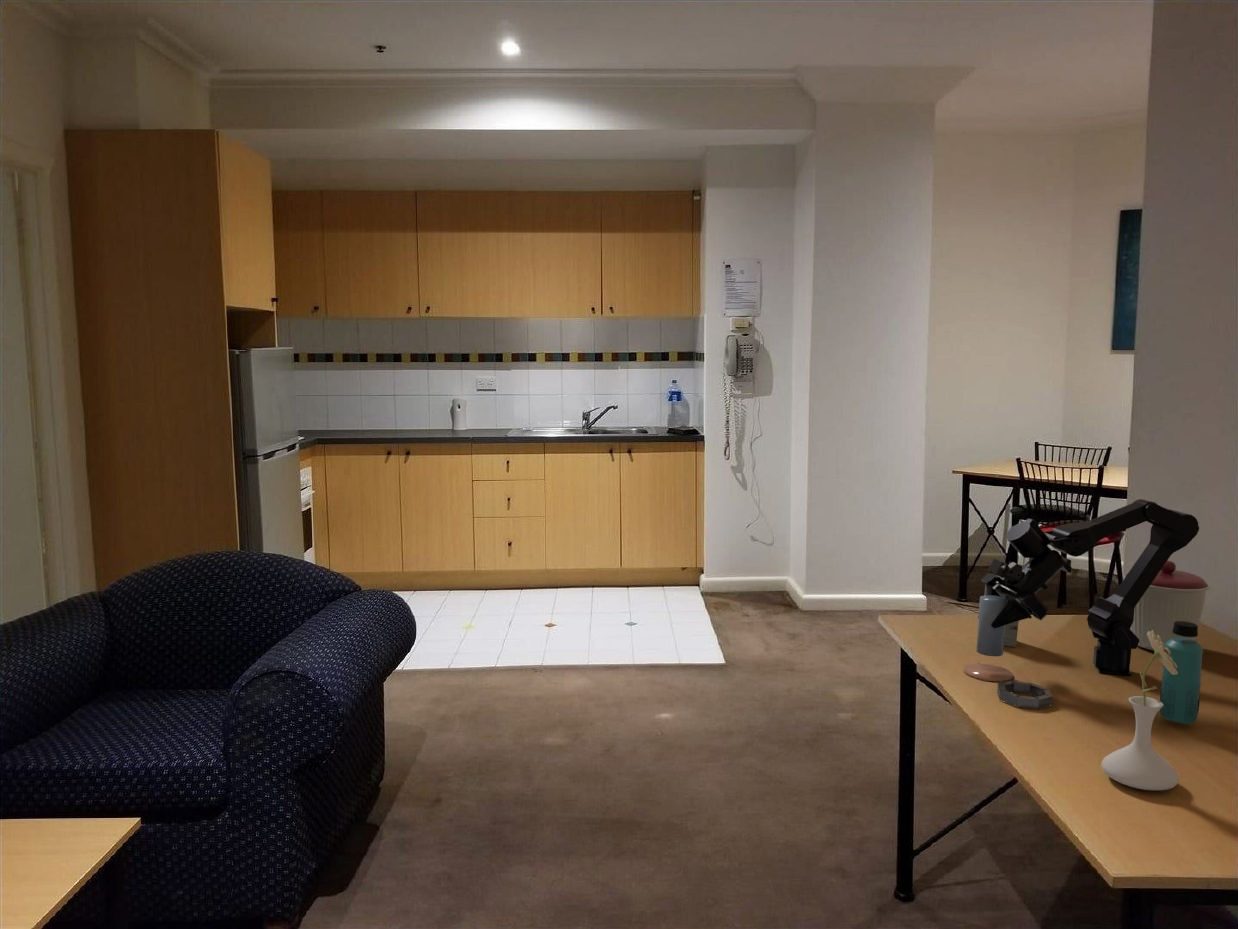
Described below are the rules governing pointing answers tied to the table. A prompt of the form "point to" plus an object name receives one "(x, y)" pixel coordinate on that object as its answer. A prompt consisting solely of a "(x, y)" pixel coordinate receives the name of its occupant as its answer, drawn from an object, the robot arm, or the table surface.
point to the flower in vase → (1144, 738)
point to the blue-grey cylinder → (988, 637)
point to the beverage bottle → (1182, 676)
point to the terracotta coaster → (988, 672)
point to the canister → (1168, 604)
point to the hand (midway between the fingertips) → (985, 623)
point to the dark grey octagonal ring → (1023, 701)
